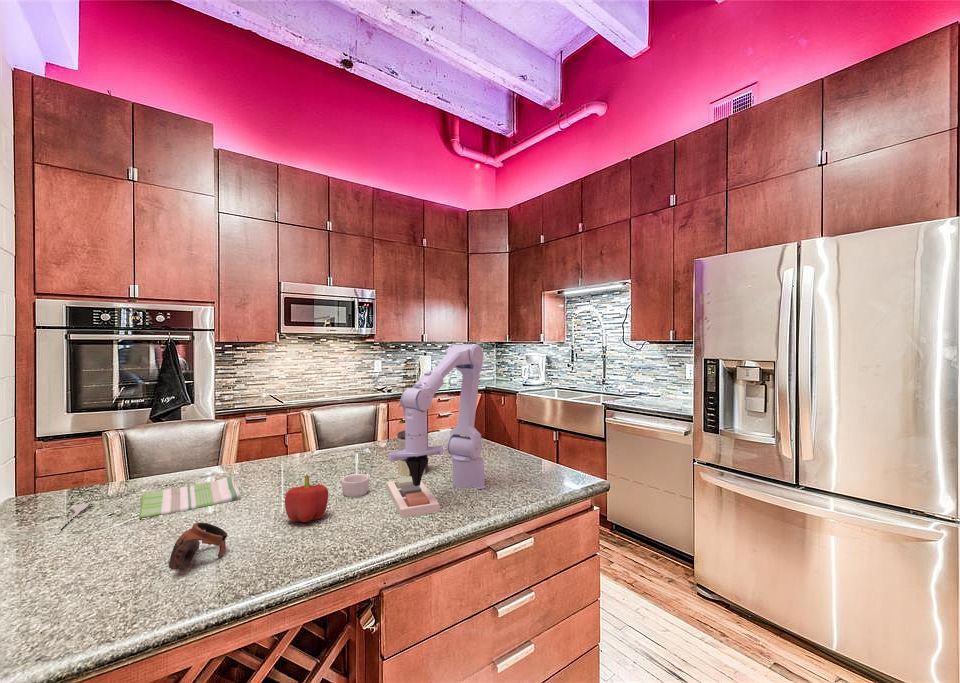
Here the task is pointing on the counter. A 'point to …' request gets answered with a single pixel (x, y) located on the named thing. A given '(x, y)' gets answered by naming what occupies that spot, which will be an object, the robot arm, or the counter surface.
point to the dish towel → (189, 497)
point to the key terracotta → (416, 499)
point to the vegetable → (306, 502)
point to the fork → (80, 508)
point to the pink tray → (413, 510)
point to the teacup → (355, 485)
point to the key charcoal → (409, 489)
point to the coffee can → (402, 464)
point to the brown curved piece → (196, 543)
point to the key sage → (403, 481)
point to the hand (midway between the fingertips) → (416, 484)
